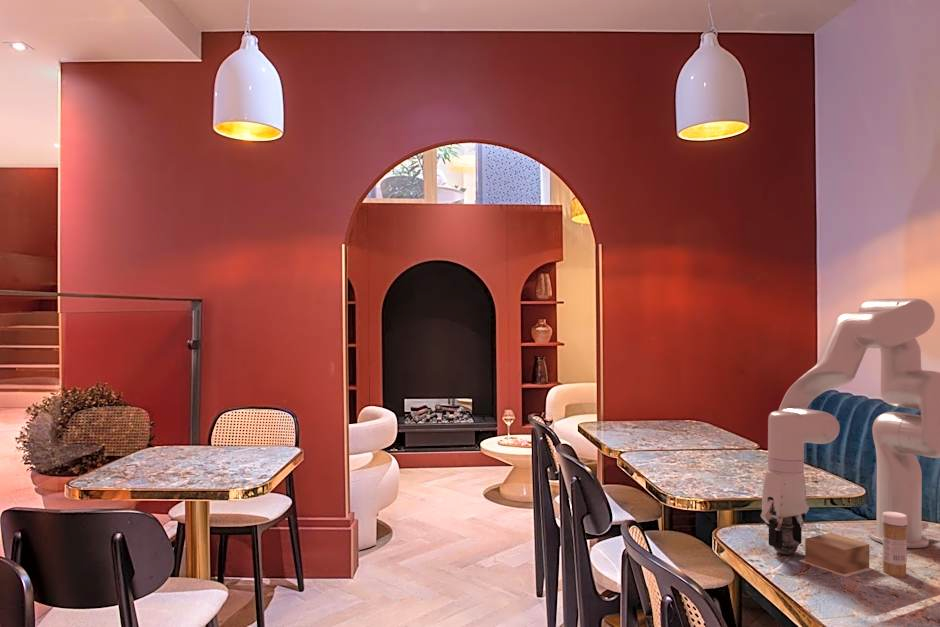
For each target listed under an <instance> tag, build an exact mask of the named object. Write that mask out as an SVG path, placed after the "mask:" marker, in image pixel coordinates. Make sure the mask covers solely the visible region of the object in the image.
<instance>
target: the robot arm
mask: <svg viewBox="0 0 940 627" xmlns="http://www.w3.org/2000/svg"><path fill="white" fill-rule="evenodd" d="M935 316H936V315H935V310H934V308H933V306H932V304H931V303H929V302H928V301H927V300H924V299H921V298H876V299H871V300H866V301H865V302H863V303H862V304H860V306H859V309H858V311H853V312H852V311H850V312H845V313H842V314H841V315H840V316H838V317H837V319H835V322H834V324H833V326H832V329H831V331H830V332H829V335H828V338H827V339H826V342H825V344H824V347H823V349H822V351H821V353H820V356H819V358H818V360H817V362H816V364H815V365H814V366H813V367H812V368H810V369H809V370H808V371H806V372H805V373H804V374H802V376H800V377H799V378H798V379H797V380H796V381H795V382H793V384H791V386H790V387H789V388H788V389H787V391H786V392H785V394H784V396H783V398H782V400H781V403H780V405H779V408H778V409H777V410H774V411H771V412H770V413H769V415H768V417H767V418H768V419H767V430H768V431H767V471H766V472H765V476H764V479H763V485H762V486H763V487H762V498H761V513H760V518H761V519H762V520H763V521H764V523H765V525H766V528H767V529H768V545H769V546H770V547H773V548H774V547H776V548H779V549H780V548H782V531H781V530H780V529H781V525H782V521H783V518H786V517H791V516H792V525H794V527H793V528H792V536H793V539H794V540H795V541H797V542H798V543H799V545H802V531H803V530H802V527H803V526H804V520H805V518H806V515H807V513H808V512H809V510H810V507H809V505H808V504H807V486H806V477H805V473H804V472H805V468H804V467H805V465H804V464H805V461H804V460H805V444H806V443H807V444H817V445H825V444H826V445H827V444H828V443H831V442H833V441H835V440H836V439H837V437H838V436H839V434H840V427H841V426H840V422H839V420H837V417H835V416H834V415H833V414H831V413H829V412H826V411H823V410H816V409H811V408H808V407H809V406H810V404H811V403H812V402H813V401H814V400H815V399H816V398H817V397H818V396H820V395H821V394H823V393H826V392H827V391H830V390H834V389H835V388H839V387H841V386H845V385H847V384H849V383H851V382H852V381H854V379H855V377H856V375H857V372H858V370H859V368H860V365H861V363H862V361H863V358H864V356H865V353H866V351H867V350H868V349H879V350H880V396H881V399H882V400H883V402H885V403H886V404H888V405H890V406H894V407H898V408H899V407H900V408H904V409H905V408H906V409H911V410H918V411H920V415H919V414H915V413H907V412H901V411H887V412H884V413H881V414H879V415H878V416H877V417H876V418H875V419H874V421H873V424H872V439H873V443H874V446H875V454H876V455H875V456H876V526H875V528H872V529H871V530H869V533H868V535H869V538H870V539H872V540H873V541H875V542H878V543H880V544H883V521H882V513H883V512H898V513H902V514H905V515H906V516H907V527H906V548H907V549H922V548H923V549H924V548H927V547H928V546H929V543H930V542H929V539H928V538H927V537H926V536H924V535H922V531H924V530H927V529H929V527H930V525H929V523H928V522H927V521H925V520H923V521H922V505H923V504H922V499H923V496H922V494H923V492H922V488H923V487H922V486H923V485H922V484H923V481H922V479H923V478H922V477H923V475H922V474H923V473H922V468H921V464H920V462H919V460H918V458H917V456H921V457H926V458H932V459H940V372H939V371H935V370H934V371H933V370H923V369H922V354H921V353H922V352H921V347H920V344H919V342H918V340H917V338H919V337H921V336H922V335H924V334H926V333H927V332H928V331H929V330H930V329H931V328H932V326H933V325H934V322H935ZM775 519H776V521H775Z"/></svg>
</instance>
